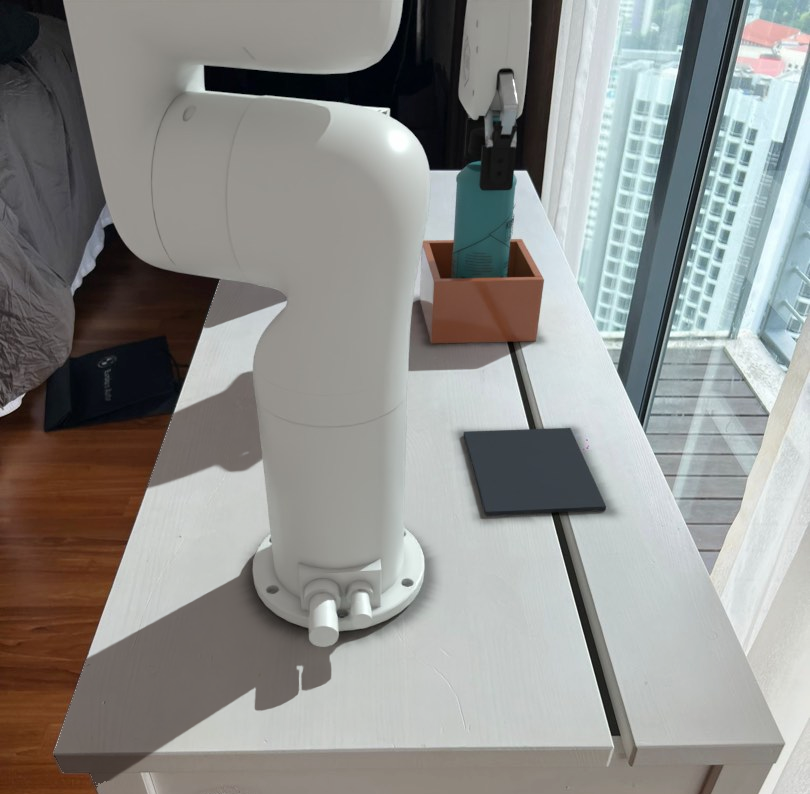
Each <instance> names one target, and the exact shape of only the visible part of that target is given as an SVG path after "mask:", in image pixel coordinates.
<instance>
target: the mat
mask: <svg viewBox="0 0 810 794" xmlns="http://www.w3.org/2000/svg"><path fill="white" fill-rule="evenodd" d="M463 438H464V442H465V446H466V449H467V453H468V457H469V460H470V464H471V467H472V471H473V475H474V479H475V483H476V486H477V490H478V494H479V497H480V500H481V505H482V509H483V512H484V516H505V515H507V516H508V515H527V514H529V515H530V514H549V513H551V514H552V513H554V514H555V513H572V512H574V513H575V512H596V511H598V512H599V511H606V510H607V505H606V503H605V501H604V498H603V497H602V493H601V492H600V489H599V488H598V485H597V483H596V481H595V479H594V477H593V474H592V473H591V470H590V468H589V466H588V463H587V461H586V459H585V457H584V455H583V452H582V450H581V449H580V446H579V444H578V442H577V439H576V437H575V434H574V433H573V430H572V428H571V427H559V428H557V427H555V428H527V429H503V430H502V429H500V430H499V429H498V430H497V429H495V430H473V431H470V430H469V431H463Z"/></svg>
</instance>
